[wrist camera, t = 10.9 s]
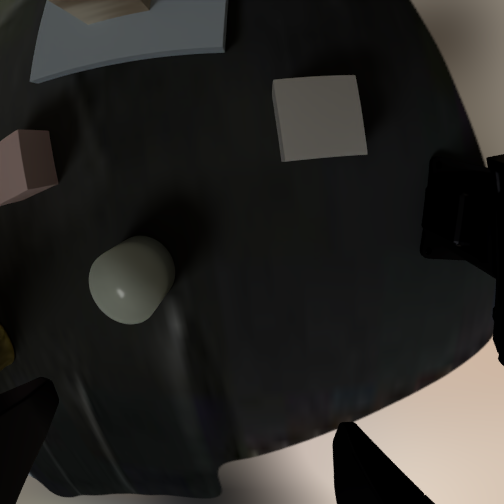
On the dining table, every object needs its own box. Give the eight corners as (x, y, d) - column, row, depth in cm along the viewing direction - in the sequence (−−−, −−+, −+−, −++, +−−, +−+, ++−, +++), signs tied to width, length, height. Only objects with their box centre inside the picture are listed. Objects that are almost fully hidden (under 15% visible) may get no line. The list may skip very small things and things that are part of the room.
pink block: (49, 130, 17) (17, 129, 14) (59, 183, 18) (27, 189, 15) (15, 150, 18) (-16, 153, 14) (24, 199, 19) (-7, 207, 15)
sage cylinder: (174, 236, 19) (154, 252, 15) (177, 301, 20) (161, 327, 17) (111, 234, 19) (84, 249, 16) (118, 296, 20) (95, 319, 17)
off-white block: (339, 89, 16) (355, 75, 13) (349, 155, 17) (367, 154, 14) (271, 95, 16) (273, 80, 13) (281, 161, 17) (285, 161, 14)
